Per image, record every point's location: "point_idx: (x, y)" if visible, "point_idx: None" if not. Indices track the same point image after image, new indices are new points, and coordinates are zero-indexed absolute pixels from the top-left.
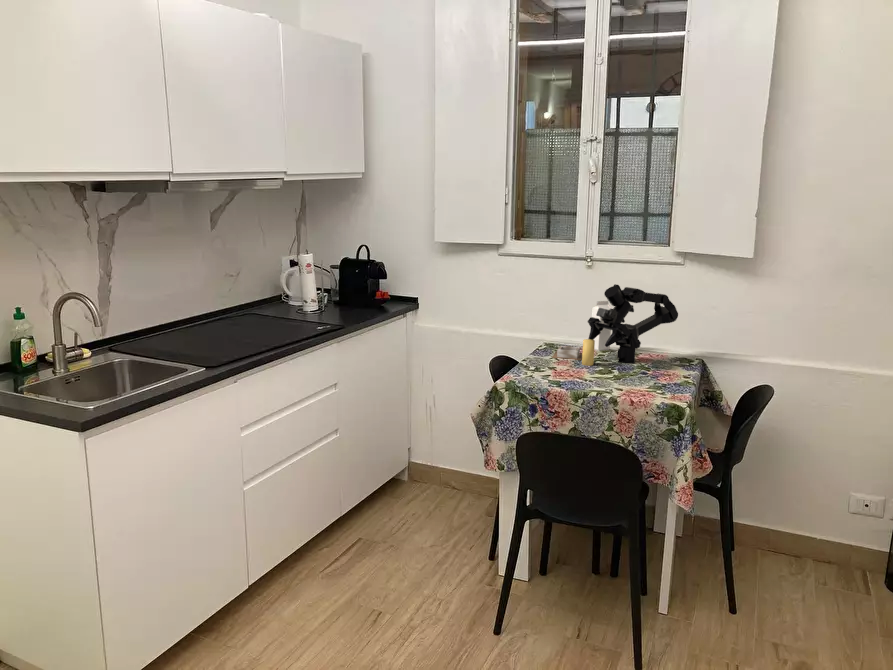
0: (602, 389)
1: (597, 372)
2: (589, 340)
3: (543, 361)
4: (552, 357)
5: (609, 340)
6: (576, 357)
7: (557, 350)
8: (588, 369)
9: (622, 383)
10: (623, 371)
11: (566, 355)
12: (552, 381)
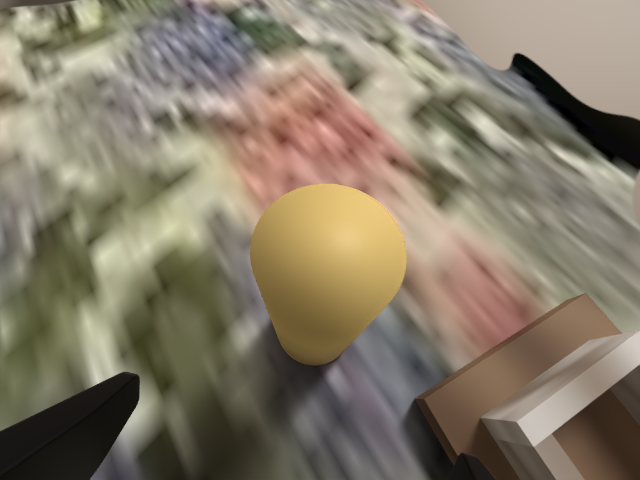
0: (71, 61)
1: (209, 276)
2: (319, 245)
3: (582, 264)
4: (587, 303)
5: (19, 423)
6: (488, 415)
7: (633, 331)
8: None
9: (4, 178)
10: None
11: (553, 372)
12: (285, 39)
